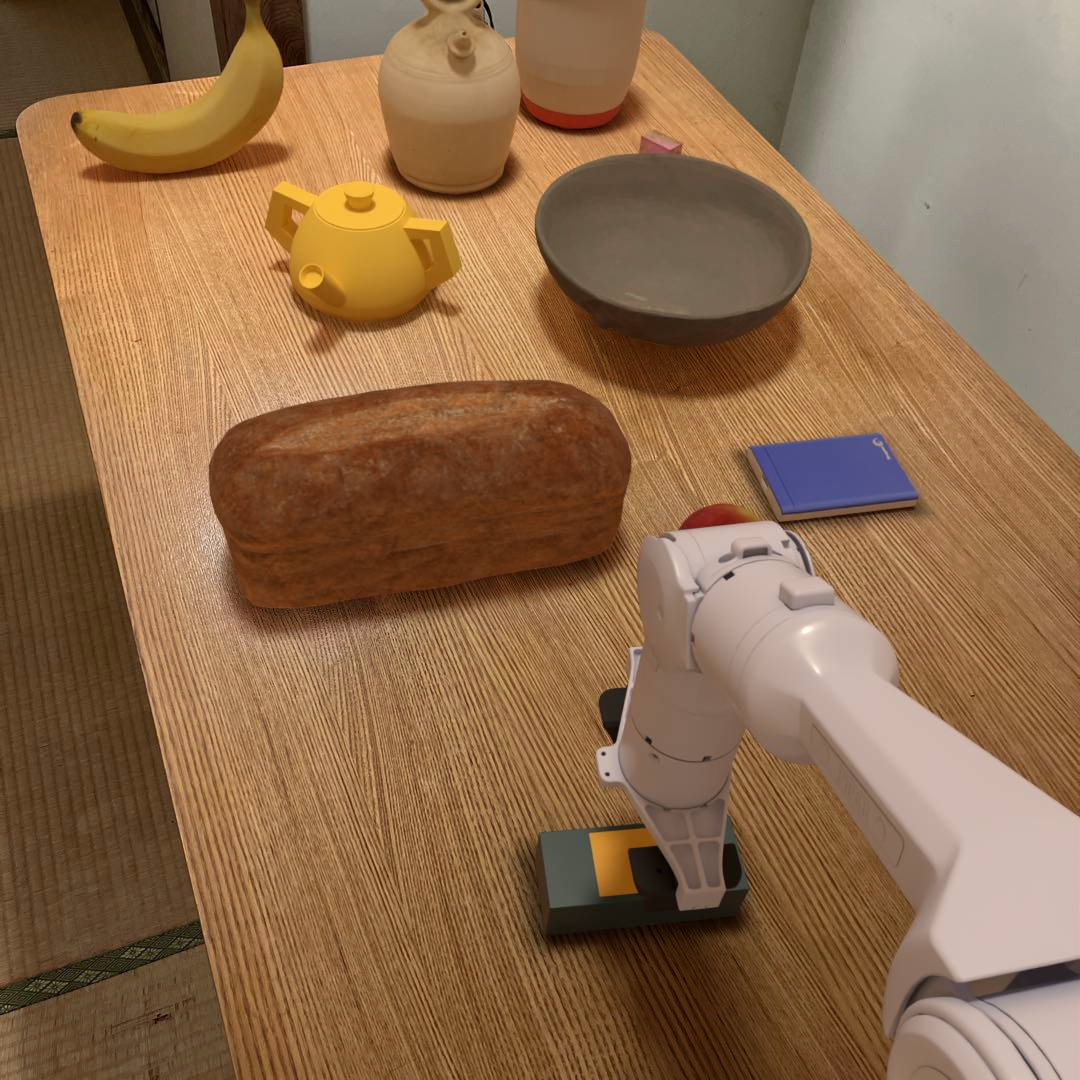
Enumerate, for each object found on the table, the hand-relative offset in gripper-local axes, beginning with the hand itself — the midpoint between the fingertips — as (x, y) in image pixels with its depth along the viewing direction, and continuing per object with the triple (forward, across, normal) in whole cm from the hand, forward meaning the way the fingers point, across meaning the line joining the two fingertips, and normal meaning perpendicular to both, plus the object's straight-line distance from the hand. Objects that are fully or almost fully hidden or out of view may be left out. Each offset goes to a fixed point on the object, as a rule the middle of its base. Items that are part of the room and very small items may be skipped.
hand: (648, 840), depth 62 cm
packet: (+7, 0, 0) cm, 7 cm away
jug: (+6, -88, -5) cm, 88 cm away
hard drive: (+7, -35, +24) cm, 43 cm away
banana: (+6, -88, -34) cm, 95 cm away
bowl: (+6, -60, +14) cm, 62 cm away
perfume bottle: (+6, -84, +21) cm, 86 cm away
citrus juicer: (+6, -103, +11) cm, 103 cm away
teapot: (+6, -63, -16) cm, 65 cm away
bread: (+7, -30, -11) cm, 33 cm away
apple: (+7, -24, +11) cm, 27 cm away
